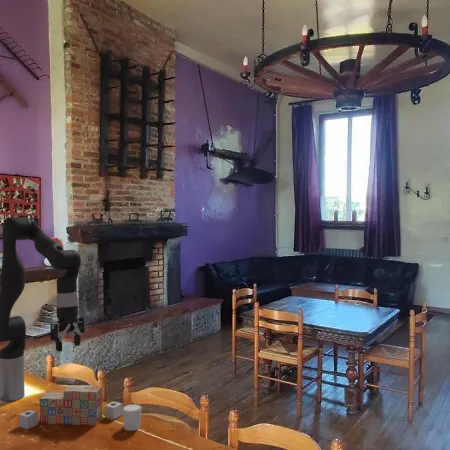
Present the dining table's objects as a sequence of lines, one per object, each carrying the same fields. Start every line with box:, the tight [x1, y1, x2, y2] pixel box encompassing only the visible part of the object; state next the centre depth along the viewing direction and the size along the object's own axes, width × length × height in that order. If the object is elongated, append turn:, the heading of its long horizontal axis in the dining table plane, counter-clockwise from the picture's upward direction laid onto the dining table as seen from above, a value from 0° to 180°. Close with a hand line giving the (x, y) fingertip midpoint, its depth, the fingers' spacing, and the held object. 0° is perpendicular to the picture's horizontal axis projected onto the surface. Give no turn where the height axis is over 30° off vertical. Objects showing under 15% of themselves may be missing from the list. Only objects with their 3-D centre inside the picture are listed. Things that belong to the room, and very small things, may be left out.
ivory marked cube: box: [104, 401, 123, 420], centre depth 176 cm, size 4×4×5 cm
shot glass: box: [122, 403, 143, 432], centre depth 167 cm, size 7×7×7 cm
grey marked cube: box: [18, 409, 39, 430], centre depth 169 cm, size 4×4×5 cm
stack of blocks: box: [39, 384, 103, 426], centre depth 173 cm, size 21×6×12 cm, turn 85°
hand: (68, 348), depth 173 cm, fingers open, 8 cm apart
